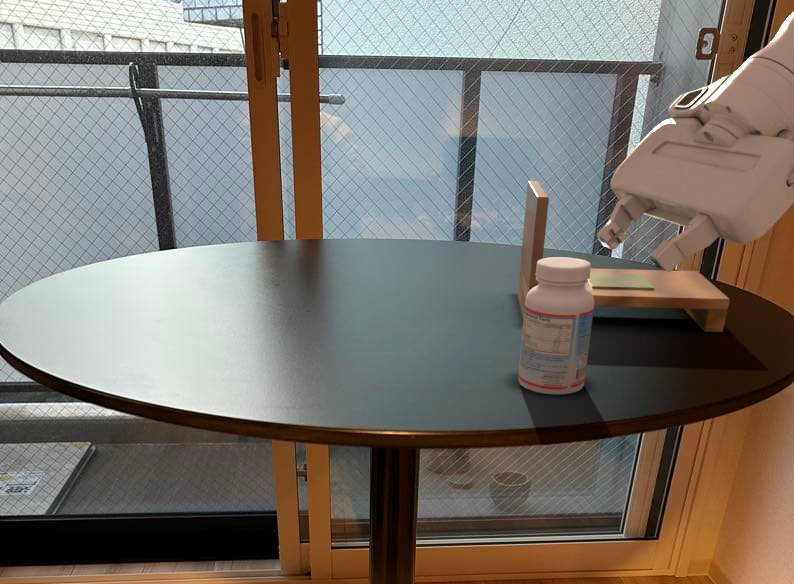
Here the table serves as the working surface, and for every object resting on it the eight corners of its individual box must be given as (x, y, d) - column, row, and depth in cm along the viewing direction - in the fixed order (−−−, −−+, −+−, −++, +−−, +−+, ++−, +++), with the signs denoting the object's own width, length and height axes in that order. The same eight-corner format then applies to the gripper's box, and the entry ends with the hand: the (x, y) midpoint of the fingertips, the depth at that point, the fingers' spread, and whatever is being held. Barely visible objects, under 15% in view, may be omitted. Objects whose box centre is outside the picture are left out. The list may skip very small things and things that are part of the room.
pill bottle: (557, 372, 79) (571, 252, 73) (596, 392, 74) (615, 266, 68) (504, 381, 76) (515, 258, 71) (541, 402, 72) (556, 272, 66)
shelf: (691, 303, 102) (714, 183, 95) (722, 335, 90) (751, 201, 83) (517, 298, 103) (527, 180, 96) (524, 329, 91) (537, 196, 84)
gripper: (857, 171, 61) (716, 308, 64) (701, 147, 78) (595, 256, 81) (825, 103, 58) (677, 251, 60) (669, 94, 74) (559, 209, 77)
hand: (629, 253), depth 71 cm, fingers open, 8 cm apart
